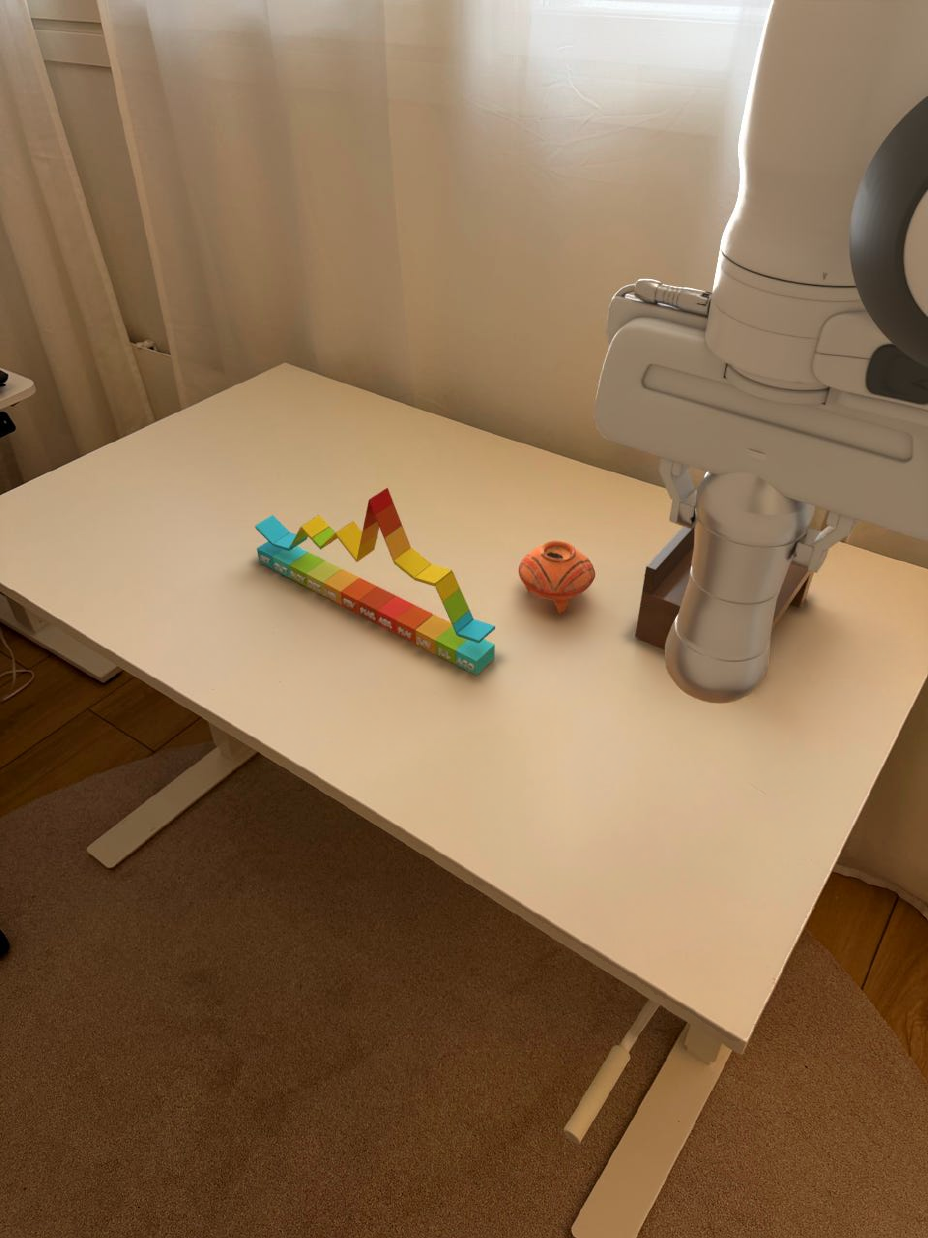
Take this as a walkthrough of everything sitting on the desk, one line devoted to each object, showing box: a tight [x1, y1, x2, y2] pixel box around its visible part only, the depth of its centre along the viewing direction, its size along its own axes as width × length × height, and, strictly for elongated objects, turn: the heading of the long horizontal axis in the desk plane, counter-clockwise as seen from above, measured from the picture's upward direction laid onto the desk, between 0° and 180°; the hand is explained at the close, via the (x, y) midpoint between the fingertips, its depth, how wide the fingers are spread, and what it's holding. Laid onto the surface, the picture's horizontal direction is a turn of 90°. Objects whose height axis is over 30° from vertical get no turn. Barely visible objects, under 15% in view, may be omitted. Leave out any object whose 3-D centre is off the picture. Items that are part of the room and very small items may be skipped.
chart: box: [254, 487, 496, 676], centre depth 89 cm, size 30×3×15 cm, turn 53°
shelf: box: [634, 526, 815, 651], centre depth 90 cm, size 12×16×9 cm
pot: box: [518, 540, 596, 615], centre depth 93 cm, size 8×8×7 cm
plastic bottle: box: [664, 431, 816, 705], centre depth 54 cm, size 6×7×20 cm
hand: (745, 542), depth 53 cm, fingers closed on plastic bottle, 6 cm apart
